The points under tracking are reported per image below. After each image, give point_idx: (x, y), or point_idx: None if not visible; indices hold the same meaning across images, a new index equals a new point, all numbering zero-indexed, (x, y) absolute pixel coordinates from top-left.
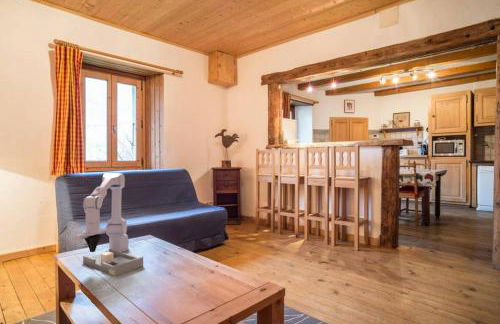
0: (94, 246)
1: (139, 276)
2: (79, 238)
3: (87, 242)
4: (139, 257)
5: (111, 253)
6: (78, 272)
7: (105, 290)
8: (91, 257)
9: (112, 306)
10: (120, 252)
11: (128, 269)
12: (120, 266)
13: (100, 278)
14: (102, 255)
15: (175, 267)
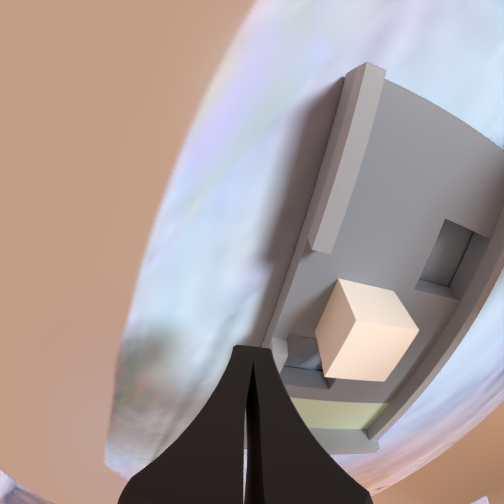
0: (247, 434)
1: None
2: (17, 498)
3: (184, 443)
4: (366, 449)
5: (374, 377)
6: (188, 201)
7: (140, 425)
8: (409, 113)
9: (113, 452)
10: (479, 303)
11: None
12: None
13: (190, 372)
14: (342, 335)
15: (366, 463)
